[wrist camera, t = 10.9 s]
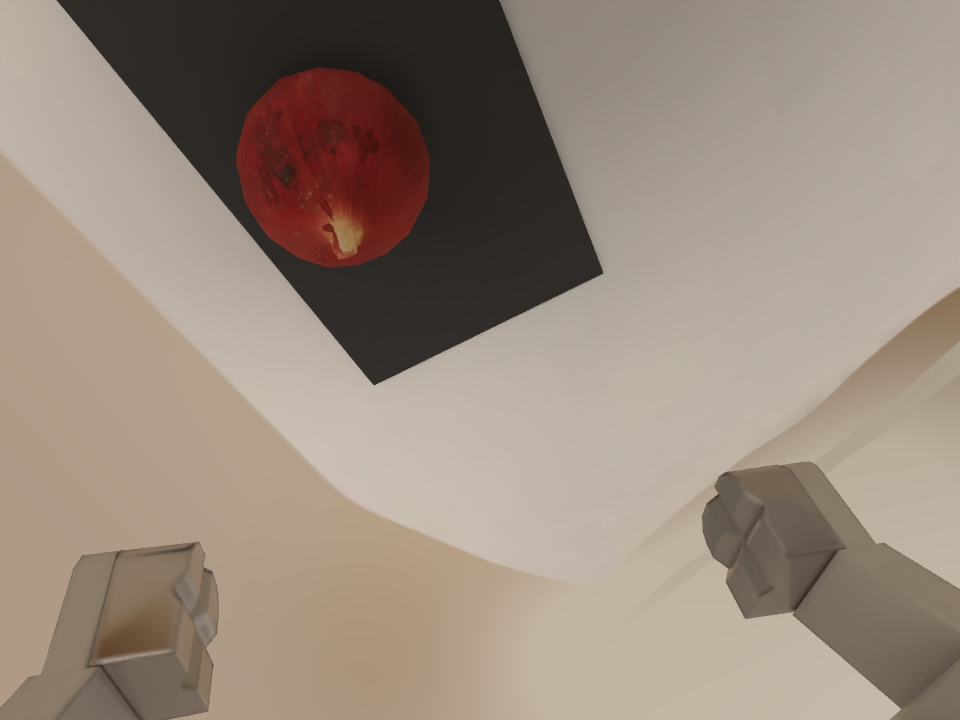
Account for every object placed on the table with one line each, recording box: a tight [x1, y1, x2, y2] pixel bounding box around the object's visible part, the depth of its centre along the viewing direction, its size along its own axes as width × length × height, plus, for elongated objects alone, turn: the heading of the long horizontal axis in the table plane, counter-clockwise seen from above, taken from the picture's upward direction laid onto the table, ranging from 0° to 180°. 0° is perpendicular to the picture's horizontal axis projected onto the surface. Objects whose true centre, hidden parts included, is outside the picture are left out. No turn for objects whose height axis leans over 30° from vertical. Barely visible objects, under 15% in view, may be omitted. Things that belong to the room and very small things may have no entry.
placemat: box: [57, 0, 603, 385], centre depth 24 cm, size 22×12×1 cm, turn 24°
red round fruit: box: [236, 67, 430, 268], centre depth 20 cm, size 6×6×8 cm
